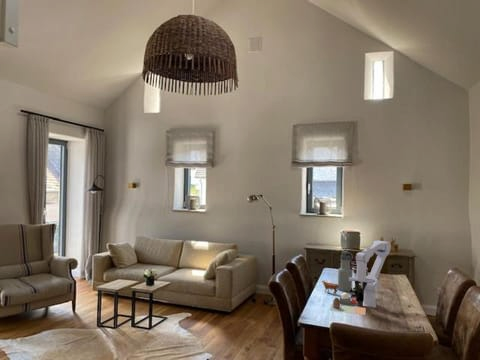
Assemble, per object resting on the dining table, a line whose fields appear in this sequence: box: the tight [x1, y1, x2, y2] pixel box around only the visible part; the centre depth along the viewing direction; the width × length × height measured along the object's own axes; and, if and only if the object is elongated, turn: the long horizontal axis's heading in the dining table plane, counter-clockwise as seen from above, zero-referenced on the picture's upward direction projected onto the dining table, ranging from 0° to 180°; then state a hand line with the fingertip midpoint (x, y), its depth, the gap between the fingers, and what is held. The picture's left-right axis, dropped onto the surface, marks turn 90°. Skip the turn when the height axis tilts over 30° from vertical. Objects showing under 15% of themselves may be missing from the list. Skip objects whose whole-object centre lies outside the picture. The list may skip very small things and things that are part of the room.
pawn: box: [332, 297, 341, 309], centre depth 228 cm, size 4×4×6 cm
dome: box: [340, 292, 350, 300], centre depth 238 cm, size 5×5×5 cm
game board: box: [329, 303, 367, 316], centre depth 226 cm, size 15×21×1 cm
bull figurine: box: [321, 279, 339, 295], centre depth 261 cm, size 4×13×8 cm, turn 45°
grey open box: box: [338, 295, 358, 307], centre depth 238 cm, size 7×11×4 cm, turn 70°
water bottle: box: [337, 250, 355, 292], centre depth 269 cm, size 10×10×28 cm
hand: (360, 293), depth 228 cm, fingers closed
